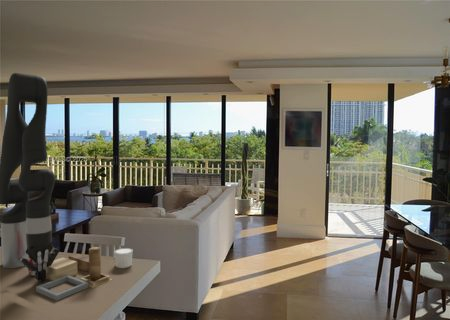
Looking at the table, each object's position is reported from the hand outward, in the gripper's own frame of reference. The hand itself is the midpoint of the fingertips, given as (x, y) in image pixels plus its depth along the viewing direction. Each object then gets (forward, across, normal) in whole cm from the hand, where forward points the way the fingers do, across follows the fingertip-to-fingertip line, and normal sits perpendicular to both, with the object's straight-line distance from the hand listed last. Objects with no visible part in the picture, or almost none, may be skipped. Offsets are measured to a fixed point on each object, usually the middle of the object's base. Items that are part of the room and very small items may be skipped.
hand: (40, 280), depth 119 cm
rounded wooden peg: (+1, -11, +14) cm, 18 cm away
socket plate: (+2, -11, +14) cm, 18 cm away
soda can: (+2, -6, -11) cm, 13 cm away
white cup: (+2, -26, +10) cm, 28 cm away
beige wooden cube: (+2, -7, 0) cm, 7 cm away
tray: (+2, -1, +11) cm, 11 cm away
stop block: (+2, -16, 0) cm, 16 cm away
